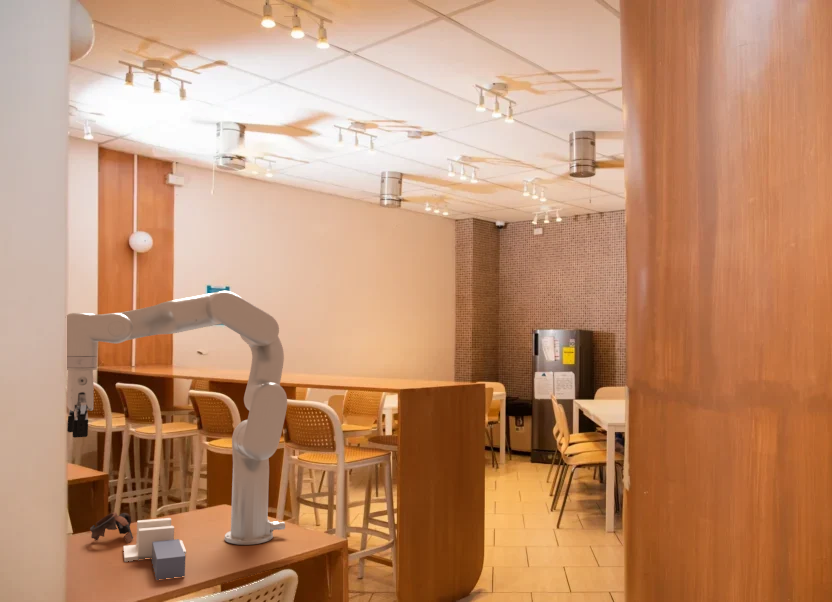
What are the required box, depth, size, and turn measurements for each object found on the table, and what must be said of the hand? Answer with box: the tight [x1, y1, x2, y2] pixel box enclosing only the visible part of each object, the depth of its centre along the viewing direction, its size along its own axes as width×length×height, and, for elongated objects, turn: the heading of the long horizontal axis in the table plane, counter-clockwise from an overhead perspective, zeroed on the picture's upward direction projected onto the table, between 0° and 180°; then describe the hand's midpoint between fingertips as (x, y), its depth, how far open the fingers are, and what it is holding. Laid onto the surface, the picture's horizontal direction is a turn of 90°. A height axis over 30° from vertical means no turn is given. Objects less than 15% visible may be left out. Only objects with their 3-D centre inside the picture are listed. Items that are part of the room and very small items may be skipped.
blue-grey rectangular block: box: [151, 538, 186, 581], centre depth 161 cm, size 6×14×5 cm, turn 25°
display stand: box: [123, 517, 187, 563], centre depth 173 cm, size 14×10×7 cm
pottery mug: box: [89, 511, 134, 544], centre depth 183 cm, size 12×10×8 cm
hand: (77, 434), depth 169 cm, fingers open, 9 cm apart
